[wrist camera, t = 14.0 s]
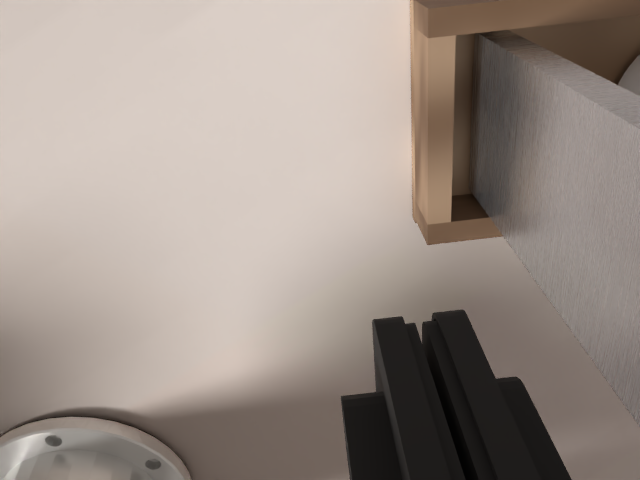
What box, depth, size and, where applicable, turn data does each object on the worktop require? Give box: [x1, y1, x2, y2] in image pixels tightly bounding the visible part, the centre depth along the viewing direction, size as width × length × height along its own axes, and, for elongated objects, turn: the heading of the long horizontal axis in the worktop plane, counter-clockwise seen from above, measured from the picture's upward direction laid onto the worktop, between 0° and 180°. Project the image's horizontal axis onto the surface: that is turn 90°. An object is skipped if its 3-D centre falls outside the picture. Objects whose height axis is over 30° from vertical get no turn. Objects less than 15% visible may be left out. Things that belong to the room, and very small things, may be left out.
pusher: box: [469, 30, 640, 426], centre depth 18 cm, size 7×1×16 cm, turn 5°
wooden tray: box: [410, 0, 640, 245], centre depth 24 cm, size 10×17×3 cm, turn 95°
